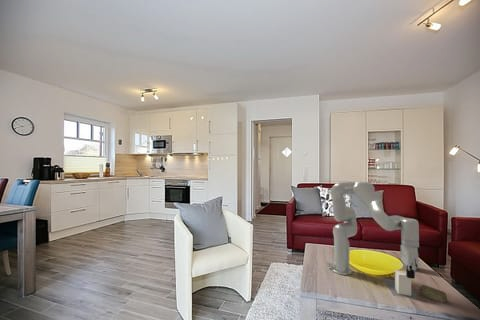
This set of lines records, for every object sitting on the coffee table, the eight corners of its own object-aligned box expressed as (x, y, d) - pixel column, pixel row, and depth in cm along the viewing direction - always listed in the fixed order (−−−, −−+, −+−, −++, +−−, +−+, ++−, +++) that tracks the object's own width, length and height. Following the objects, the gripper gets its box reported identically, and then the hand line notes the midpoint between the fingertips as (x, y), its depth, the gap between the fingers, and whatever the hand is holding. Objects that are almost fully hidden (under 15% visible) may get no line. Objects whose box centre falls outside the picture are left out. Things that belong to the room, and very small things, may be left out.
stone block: (445, 305, 121) (445, 295, 121) (418, 295, 130) (417, 286, 130) (447, 301, 125) (447, 291, 125) (421, 292, 134) (421, 283, 134)
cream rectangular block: (398, 294, 130) (398, 274, 130) (394, 288, 135) (395, 269, 135) (411, 296, 128) (411, 276, 128) (407, 290, 134) (407, 271, 134)
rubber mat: (393, 295, 129) (393, 295, 129) (383, 278, 148) (383, 278, 148) (419, 300, 125) (419, 299, 125) (405, 282, 144) (405, 281, 144)
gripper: (396, 237, 131) (397, 270, 131) (407, 246, 117) (407, 283, 117) (412, 239, 129) (413, 272, 129) (424, 247, 115) (425, 285, 114)
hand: (410, 277), depth 123 cm, fingers closed
